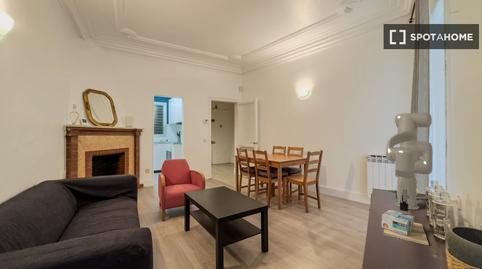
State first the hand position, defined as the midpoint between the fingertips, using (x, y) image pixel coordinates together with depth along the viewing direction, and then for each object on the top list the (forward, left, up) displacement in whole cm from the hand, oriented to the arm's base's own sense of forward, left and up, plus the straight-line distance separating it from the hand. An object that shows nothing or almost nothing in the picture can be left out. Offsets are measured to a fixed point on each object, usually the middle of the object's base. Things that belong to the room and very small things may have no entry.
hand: (403, 210), depth 105 cm
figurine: (-39, -40, -10) cm, 56 cm away
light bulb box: (-1, -2, -5) cm, 6 cm away
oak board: (+1, +1, -10) cm, 10 cm away
